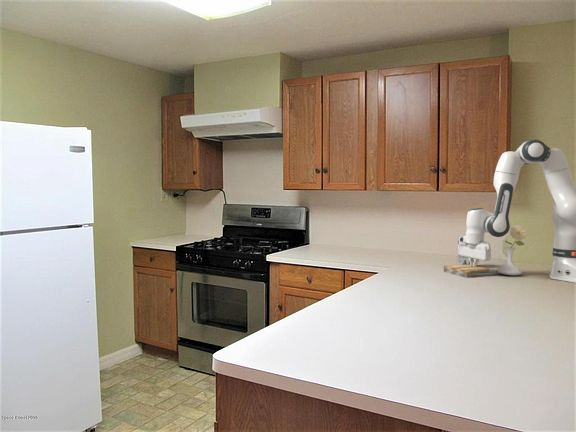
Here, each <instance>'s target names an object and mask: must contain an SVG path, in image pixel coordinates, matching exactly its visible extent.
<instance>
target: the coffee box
mask: <svg viewBox="0 0 576 432" xmlns="http://www.w3.org/2000/svg"><path fill="white" fill-rule="evenodd" d="M458 239H459V237H458ZM458 244H459V240H458V241H457V245H458ZM473 261H475V260H474V259H473ZM464 264H470V262H469V257H466V256H461V255H459V254H458V253H457V265H464Z"/></svg>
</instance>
